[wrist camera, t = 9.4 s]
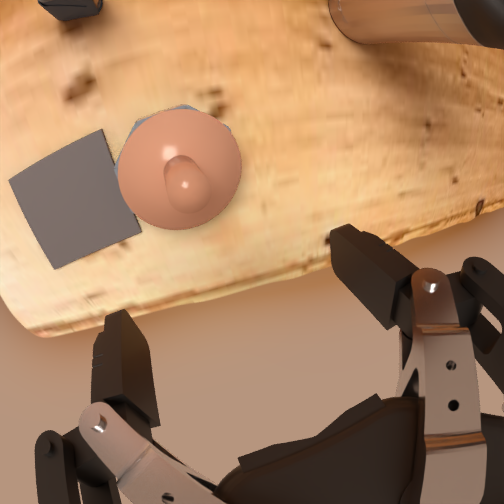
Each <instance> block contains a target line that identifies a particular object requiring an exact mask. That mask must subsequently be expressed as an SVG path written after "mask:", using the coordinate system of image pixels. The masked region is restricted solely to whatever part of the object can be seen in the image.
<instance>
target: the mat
mask: <svg viewBox="0 0 504 504" xmlns="http://www.w3.org/2000/svg"><path fill="white" fill-rule="evenodd" d="M114 166H115V164H114V162H113V159H112V156H111V153H110V151H109V148H108V145H107V142H106V139H105V136H104V133H103V130H102V129H100V130H98V131H96V132H94V133H92V134H89V135H87V136H85V137H83V138H81V139H79V140H77V141H75V142H73V143H71V144H69V145H67V146H65V147H63V148H61V149H60V150H58V151H56V152H54V153H52V154H50V155H49V156H47V157H45V158H43V159H42V160H40V161H38V162H36V163H35V164H33V165H31V166H30V167H28V168H26V169H25V170H23V171H22V172H20V173H18V174H17V175H15V176H14V177H12V178H11V179H9V180H8V181H9V183H10V185H11V188H12V190H13V192H14V195H15V197H16V199H17V201H18V203H19V205H20V208H21V210H22V212H23V214H24V216H25V218H26V220H27V222H28V224H29V226H30V228H31V230H32V231H33V233H34V235H35V237H36V239H37V241H38V243H39V244H40V246H41V248H42V250H43V251H44V253H45V255H46V257H47V258H48V260H49V262H50V263H51V265H52V267H53V268H54V270H55V269H57V268H59V267H62V266H64V265H66V264H68V263H70V262H73V261H75V260H77V259H79V258H81V257H84V256H86V255H88V254H90V253H93V252H95V251H97V250H100V249H102V248H104V247H107V246H109V245H111V244H114V243H116V242H118V241H121V240H123V239H126V238H128V237H131V236H133V235H135V234H138V233H140V232H141V228H140V226H139V223H138V221H137V219H136V217H135V214H134V213H132V212H131V211H130V208H129V206H128V205H127V203H126V202H125V200H124V198H123V196H122V194H121V191H120V188H119V182H118V179H117V176H116V174H115V171H114Z"/></svg>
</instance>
